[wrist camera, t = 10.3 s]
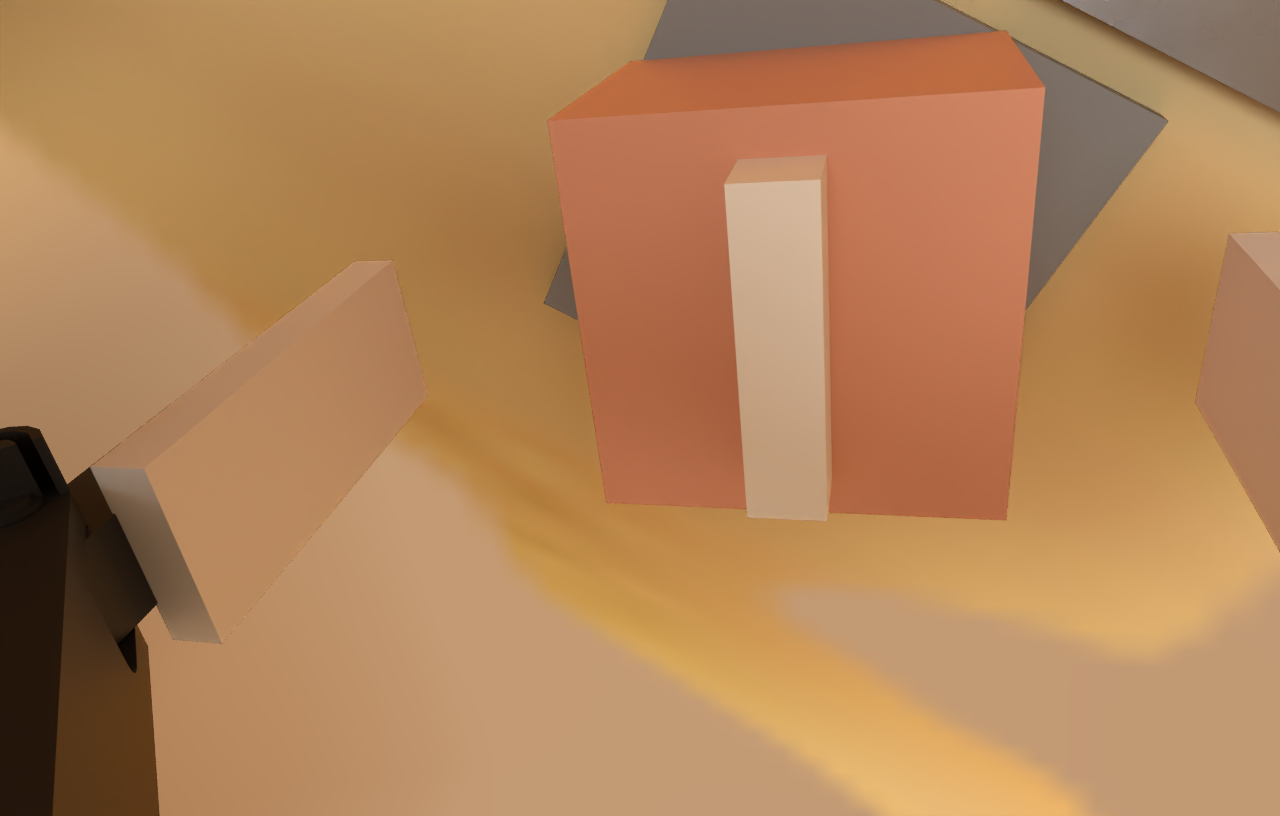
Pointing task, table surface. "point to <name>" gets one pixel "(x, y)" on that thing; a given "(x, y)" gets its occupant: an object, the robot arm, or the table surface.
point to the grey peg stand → (1207, 37)
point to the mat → (911, 8)
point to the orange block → (806, 274)
